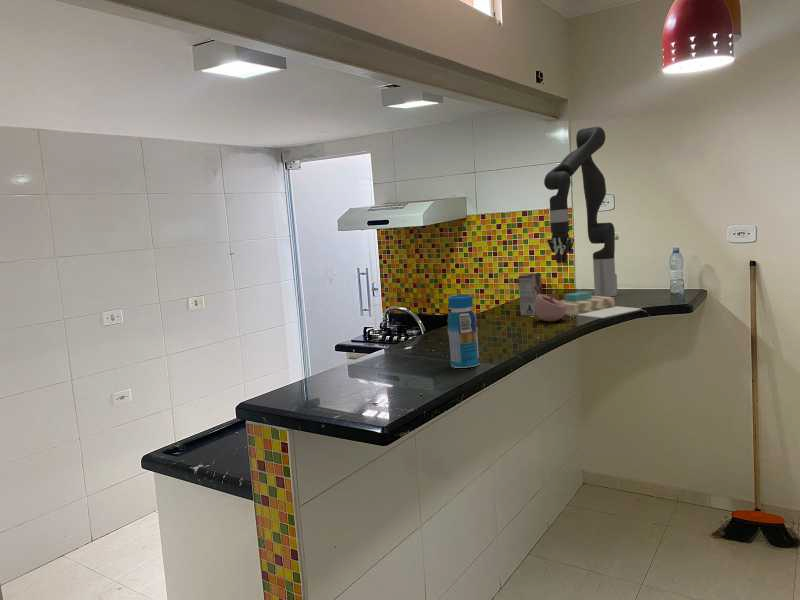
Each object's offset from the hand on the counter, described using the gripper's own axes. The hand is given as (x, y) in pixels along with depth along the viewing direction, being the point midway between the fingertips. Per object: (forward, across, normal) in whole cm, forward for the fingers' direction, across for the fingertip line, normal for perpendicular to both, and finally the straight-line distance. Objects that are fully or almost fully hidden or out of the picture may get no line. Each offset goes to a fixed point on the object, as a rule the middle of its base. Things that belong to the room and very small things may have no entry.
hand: (561, 262), depth 254 cm
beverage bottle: (+19, -48, +87) cm, 101 cm away
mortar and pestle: (+19, -18, +25) cm, 36 cm away
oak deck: (+19, -10, 0) cm, 22 cm away
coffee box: (+19, +1, +17) cm, 26 cm away
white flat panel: (+19, -24, 0) cm, 31 cm away
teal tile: (+14, -8, 0) cm, 16 cm away
